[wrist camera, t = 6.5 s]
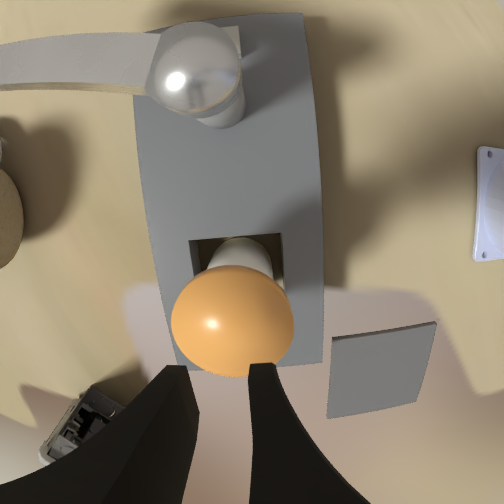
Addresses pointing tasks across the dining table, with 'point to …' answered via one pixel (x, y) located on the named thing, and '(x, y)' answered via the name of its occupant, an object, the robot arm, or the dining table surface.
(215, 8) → the dining table surface
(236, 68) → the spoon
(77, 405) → the electrical switch
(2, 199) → the ceramic mug
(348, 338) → the rubber mat
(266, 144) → the grey panel with tab
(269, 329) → the mushroom
